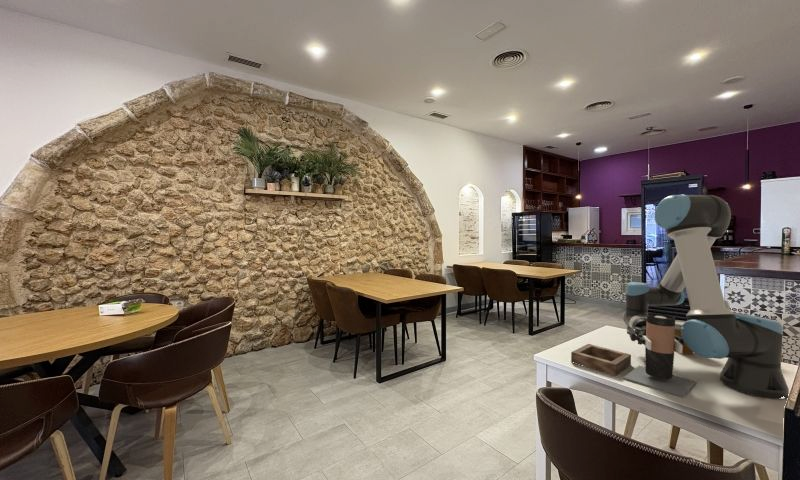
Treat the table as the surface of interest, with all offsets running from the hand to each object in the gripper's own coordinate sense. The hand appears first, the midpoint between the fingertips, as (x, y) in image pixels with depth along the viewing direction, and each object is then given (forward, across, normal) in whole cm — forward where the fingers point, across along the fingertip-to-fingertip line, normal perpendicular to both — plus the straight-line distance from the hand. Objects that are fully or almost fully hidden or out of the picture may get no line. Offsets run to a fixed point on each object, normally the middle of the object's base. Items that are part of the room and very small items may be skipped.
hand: (665, 347), depth 107 cm
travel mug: (-5, 0, -11) cm, 12 cm away
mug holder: (-14, +16, -13) cm, 24 cm away
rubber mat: (-5, 0, -13) cm, 14 cm away
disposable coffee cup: (-41, -19, -13) cm, 47 cm away
